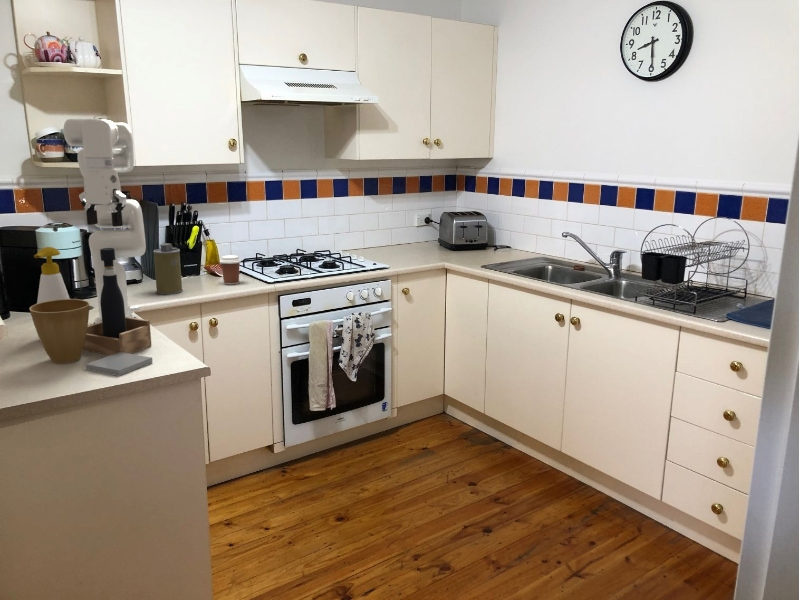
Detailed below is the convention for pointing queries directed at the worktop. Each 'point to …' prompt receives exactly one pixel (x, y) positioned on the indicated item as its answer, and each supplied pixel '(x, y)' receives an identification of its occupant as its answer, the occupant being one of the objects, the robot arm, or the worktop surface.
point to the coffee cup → (230, 269)
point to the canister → (167, 270)
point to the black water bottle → (111, 298)
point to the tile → (119, 363)
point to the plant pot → (62, 327)
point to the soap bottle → (50, 278)
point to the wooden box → (127, 342)
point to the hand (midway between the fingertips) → (105, 225)
